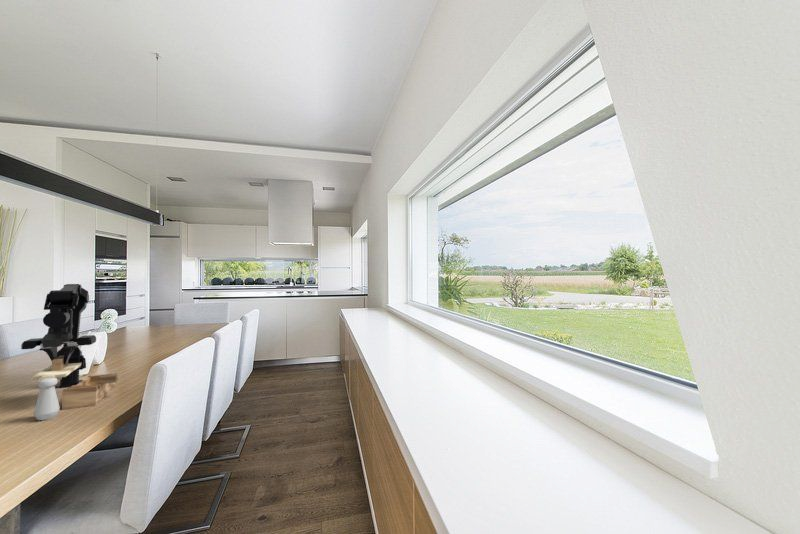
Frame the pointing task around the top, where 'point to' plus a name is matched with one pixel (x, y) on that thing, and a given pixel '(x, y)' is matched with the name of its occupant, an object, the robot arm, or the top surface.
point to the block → (108, 379)
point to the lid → (56, 369)
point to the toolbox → (86, 392)
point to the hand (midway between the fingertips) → (60, 364)
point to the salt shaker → (47, 400)
